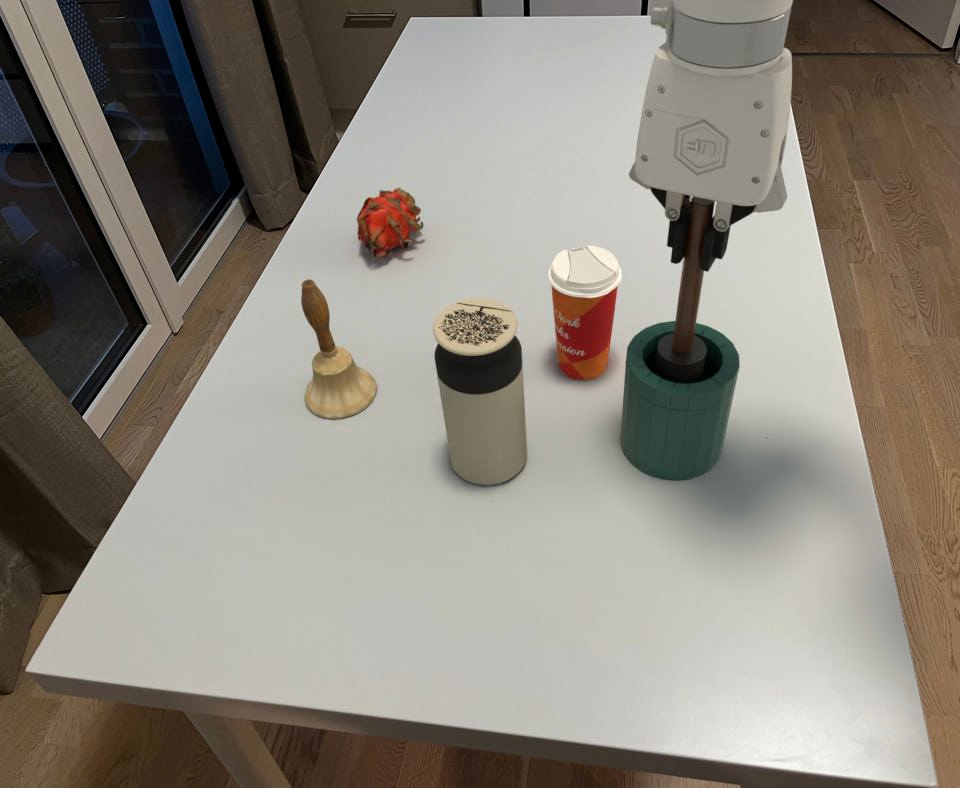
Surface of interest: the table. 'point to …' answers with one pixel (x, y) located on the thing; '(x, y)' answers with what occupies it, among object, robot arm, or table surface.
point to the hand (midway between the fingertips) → (695, 257)
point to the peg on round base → (687, 306)
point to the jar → (676, 406)
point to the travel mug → (481, 389)
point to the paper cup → (584, 308)
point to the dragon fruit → (388, 221)
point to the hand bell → (332, 366)
